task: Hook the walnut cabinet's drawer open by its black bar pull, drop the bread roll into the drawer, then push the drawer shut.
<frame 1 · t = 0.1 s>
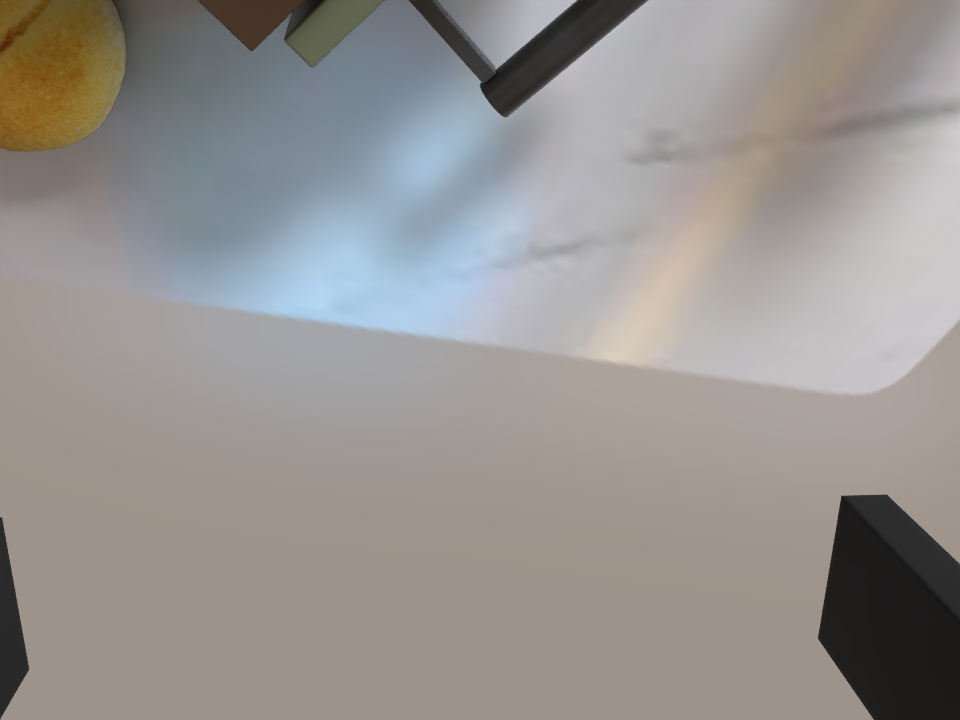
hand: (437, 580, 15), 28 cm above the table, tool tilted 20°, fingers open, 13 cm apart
bread roll: (12, 18, 36), on the table
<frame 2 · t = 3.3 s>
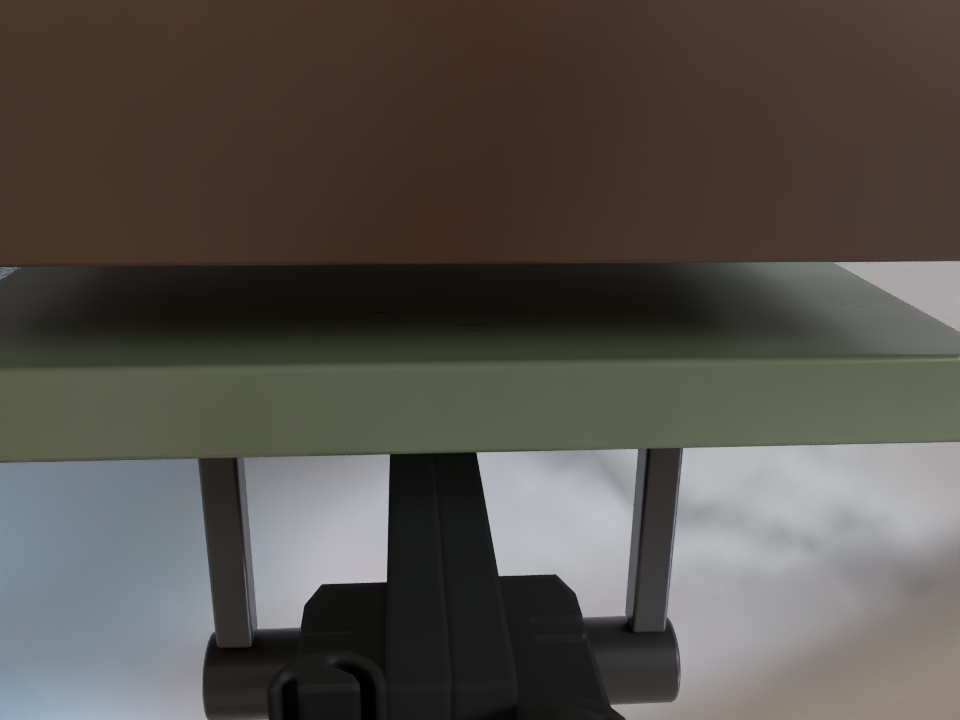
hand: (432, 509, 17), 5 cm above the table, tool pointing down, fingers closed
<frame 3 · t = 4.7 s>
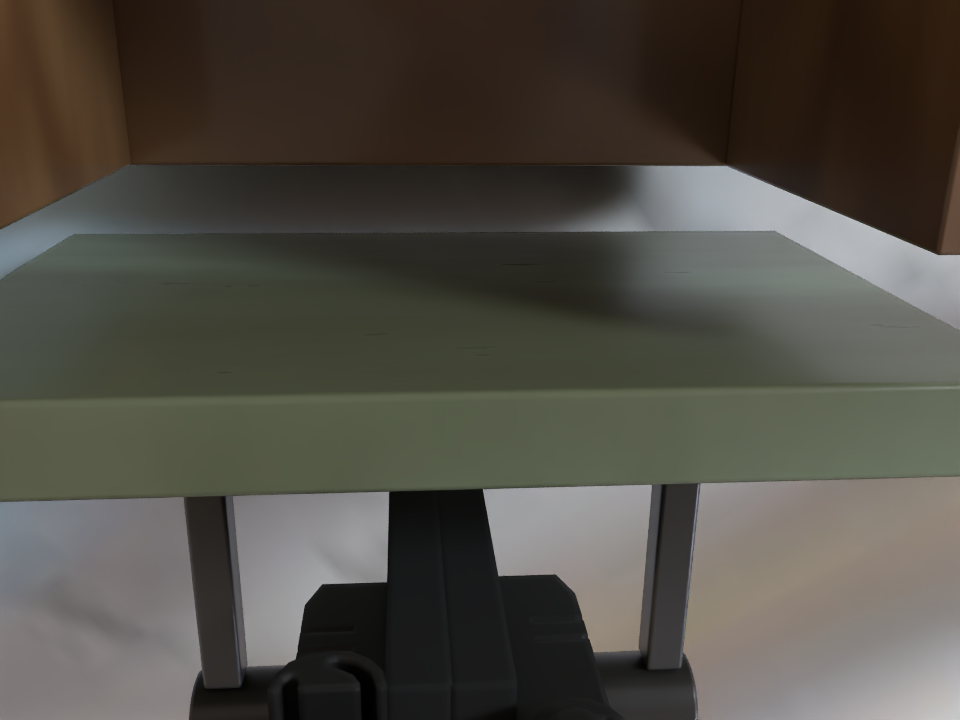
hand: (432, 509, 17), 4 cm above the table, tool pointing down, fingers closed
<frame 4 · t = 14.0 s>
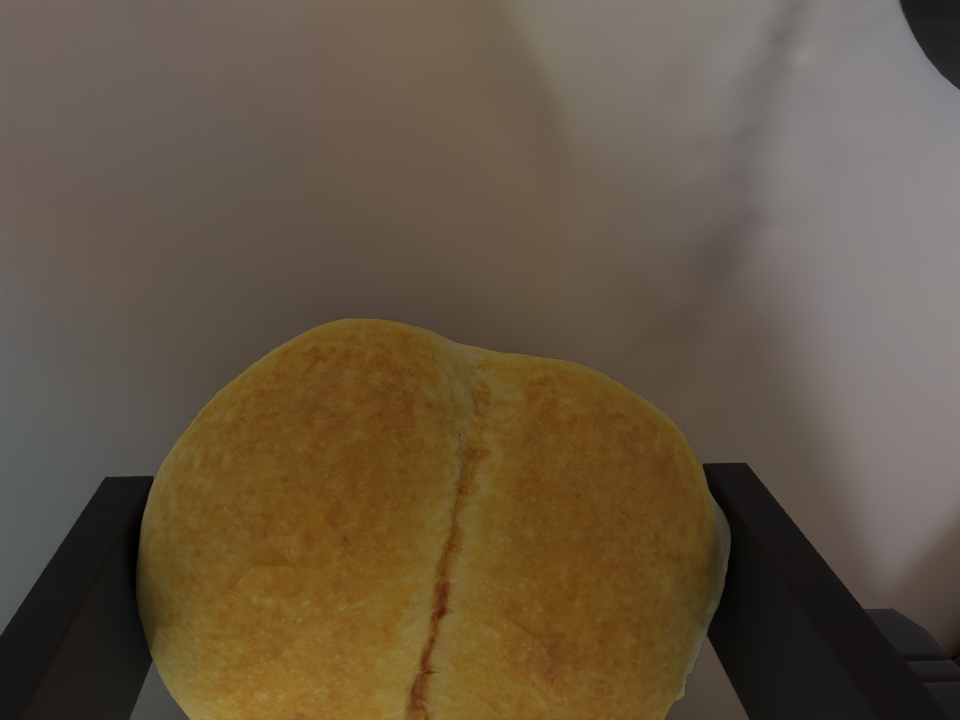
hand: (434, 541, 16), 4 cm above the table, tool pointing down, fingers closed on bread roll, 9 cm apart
bread roll: (439, 530, 16), point 3 cm above the table, touching gripper
when the fingers open (7 cm above the table, at t = 18.4 s): bread roll drops 5 cm, resting on drawer.
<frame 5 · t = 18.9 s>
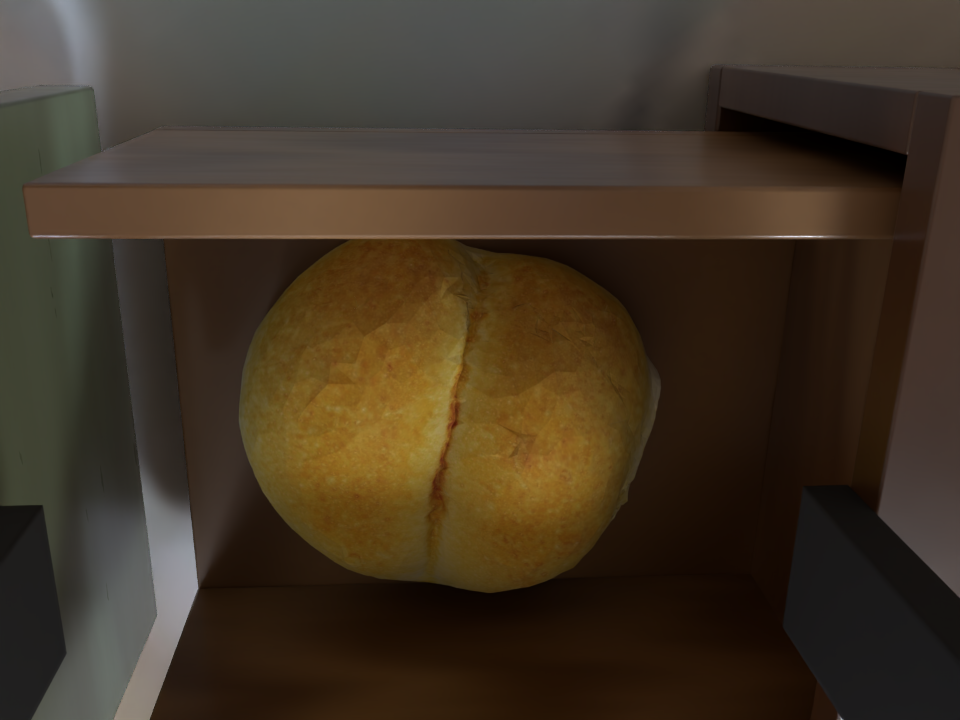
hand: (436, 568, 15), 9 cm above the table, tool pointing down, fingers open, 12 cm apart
drawer: (295, 450, 19), point 5 cm above the table, slide at 13.9 cm, touching bread roll
bread roll: (452, 392, 22), point 2 cm above the table, touching drawer
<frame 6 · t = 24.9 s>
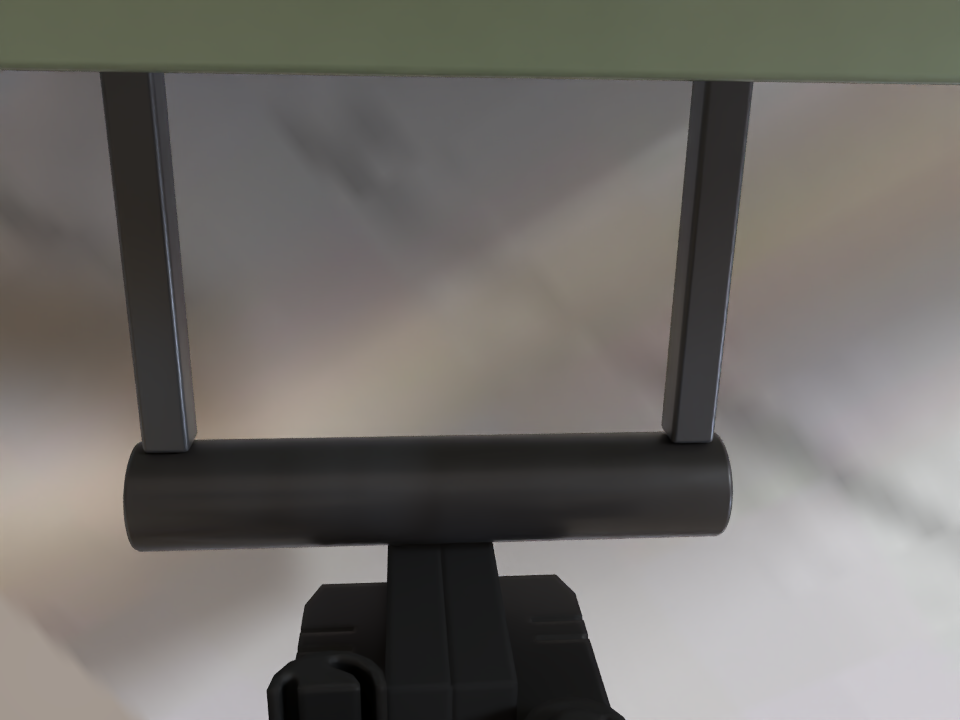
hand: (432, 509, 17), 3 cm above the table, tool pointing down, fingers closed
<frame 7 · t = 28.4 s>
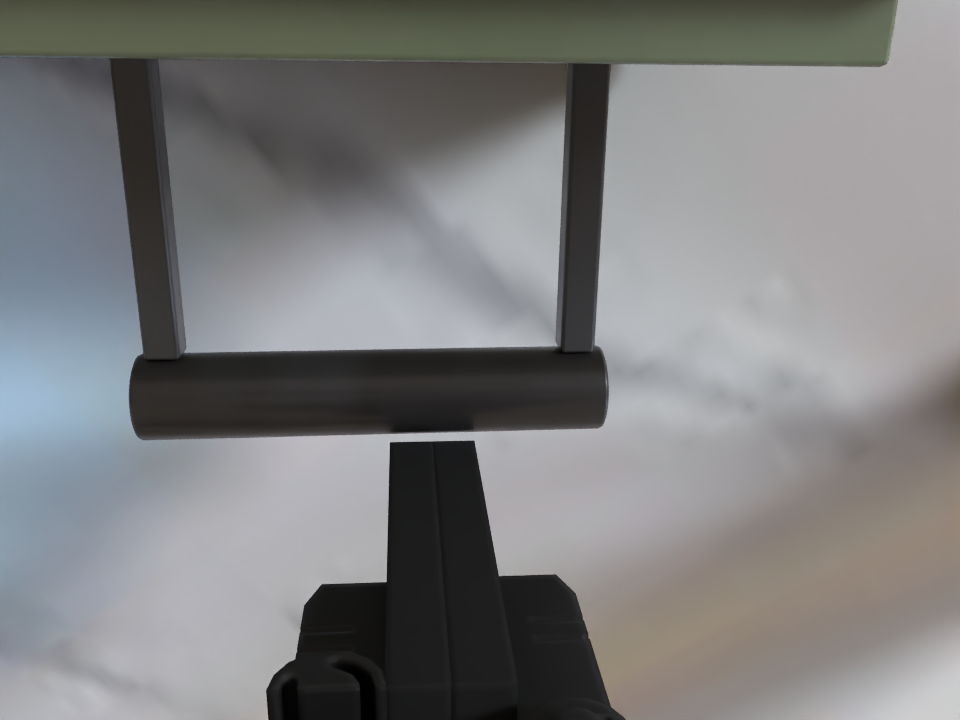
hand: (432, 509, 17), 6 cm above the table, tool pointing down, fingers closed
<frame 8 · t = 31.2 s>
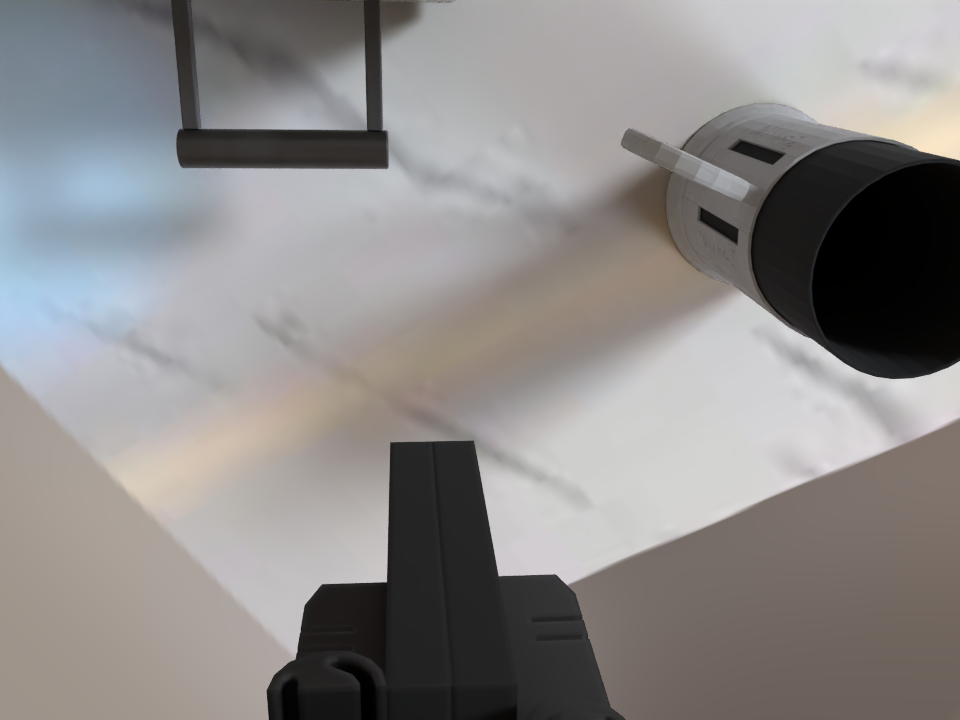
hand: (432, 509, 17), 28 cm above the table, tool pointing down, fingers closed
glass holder: (704, 173, 44), on the table
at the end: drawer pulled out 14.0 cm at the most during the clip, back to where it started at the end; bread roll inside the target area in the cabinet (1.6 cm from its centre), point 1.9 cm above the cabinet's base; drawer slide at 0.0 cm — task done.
